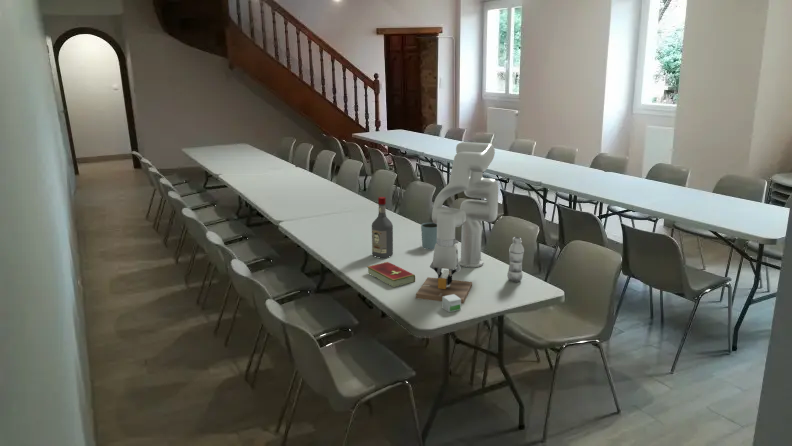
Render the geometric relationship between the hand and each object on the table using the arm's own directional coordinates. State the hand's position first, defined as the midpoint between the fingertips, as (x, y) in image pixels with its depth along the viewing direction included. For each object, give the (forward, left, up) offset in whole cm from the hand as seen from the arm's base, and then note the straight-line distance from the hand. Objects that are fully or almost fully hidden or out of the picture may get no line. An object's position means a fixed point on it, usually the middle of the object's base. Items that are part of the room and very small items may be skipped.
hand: (444, 282), depth 248 cm
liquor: (-38, -41, -4) cm, 56 cm away
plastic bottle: (-22, +27, -4) cm, 35 cm away
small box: (+16, +6, -5) cm, 18 cm away
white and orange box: (+1, 0, -2) cm, 2 cm away
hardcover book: (-10, -27, -5) cm, 29 cm away
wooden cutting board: (0, 0, -4) cm, 4 cm away
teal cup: (-59, -21, -4) cm, 63 cm away
